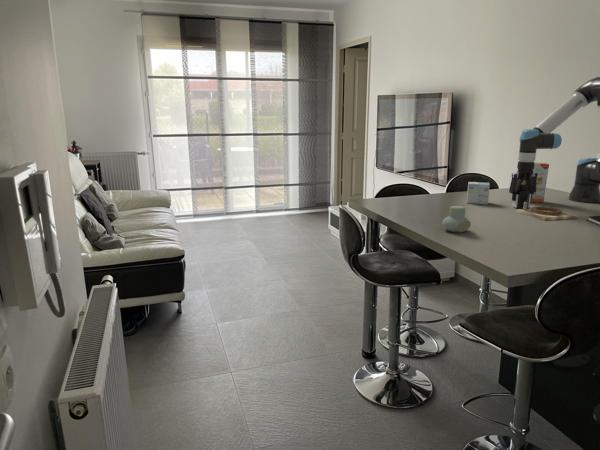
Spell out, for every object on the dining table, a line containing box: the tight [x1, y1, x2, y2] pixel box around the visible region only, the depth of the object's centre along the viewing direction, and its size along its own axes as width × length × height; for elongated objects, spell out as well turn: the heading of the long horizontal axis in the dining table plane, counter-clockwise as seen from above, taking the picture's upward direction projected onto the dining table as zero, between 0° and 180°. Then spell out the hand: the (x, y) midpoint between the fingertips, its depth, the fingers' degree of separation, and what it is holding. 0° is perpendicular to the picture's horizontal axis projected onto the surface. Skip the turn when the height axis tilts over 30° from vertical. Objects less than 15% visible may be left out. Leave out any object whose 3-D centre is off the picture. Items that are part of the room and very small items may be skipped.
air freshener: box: [441, 205, 471, 234], centre depth 186 cm, size 11×8×10 cm
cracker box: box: [517, 161, 550, 204], centre depth 245 cm, size 14×6×21 cm, turn 73°
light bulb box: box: [466, 181, 490, 205], centre depth 242 cm, size 11×7×11 cm, turn 71°
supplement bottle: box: [516, 184, 530, 209], centre depth 230 cm, size 7×7×12 cm
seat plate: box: [516, 202, 578, 221], centre depth 215 cm, size 18×18×5 cm
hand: (520, 206), depth 232 cm, fingers closed on supplement bottle, 7 cm apart
